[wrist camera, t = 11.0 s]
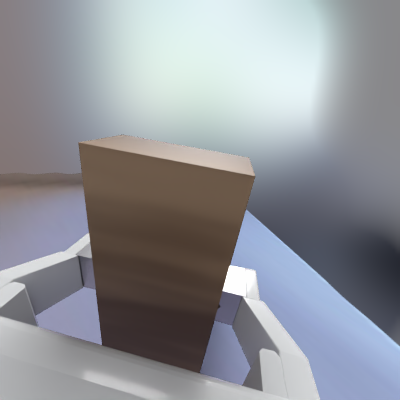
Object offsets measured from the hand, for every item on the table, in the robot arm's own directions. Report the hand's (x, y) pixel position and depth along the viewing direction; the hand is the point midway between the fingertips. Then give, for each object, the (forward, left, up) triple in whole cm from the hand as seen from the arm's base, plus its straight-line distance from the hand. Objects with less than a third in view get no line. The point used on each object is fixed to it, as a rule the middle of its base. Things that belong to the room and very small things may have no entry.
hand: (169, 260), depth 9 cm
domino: (-1, 0, -7) cm, 7 cm away
